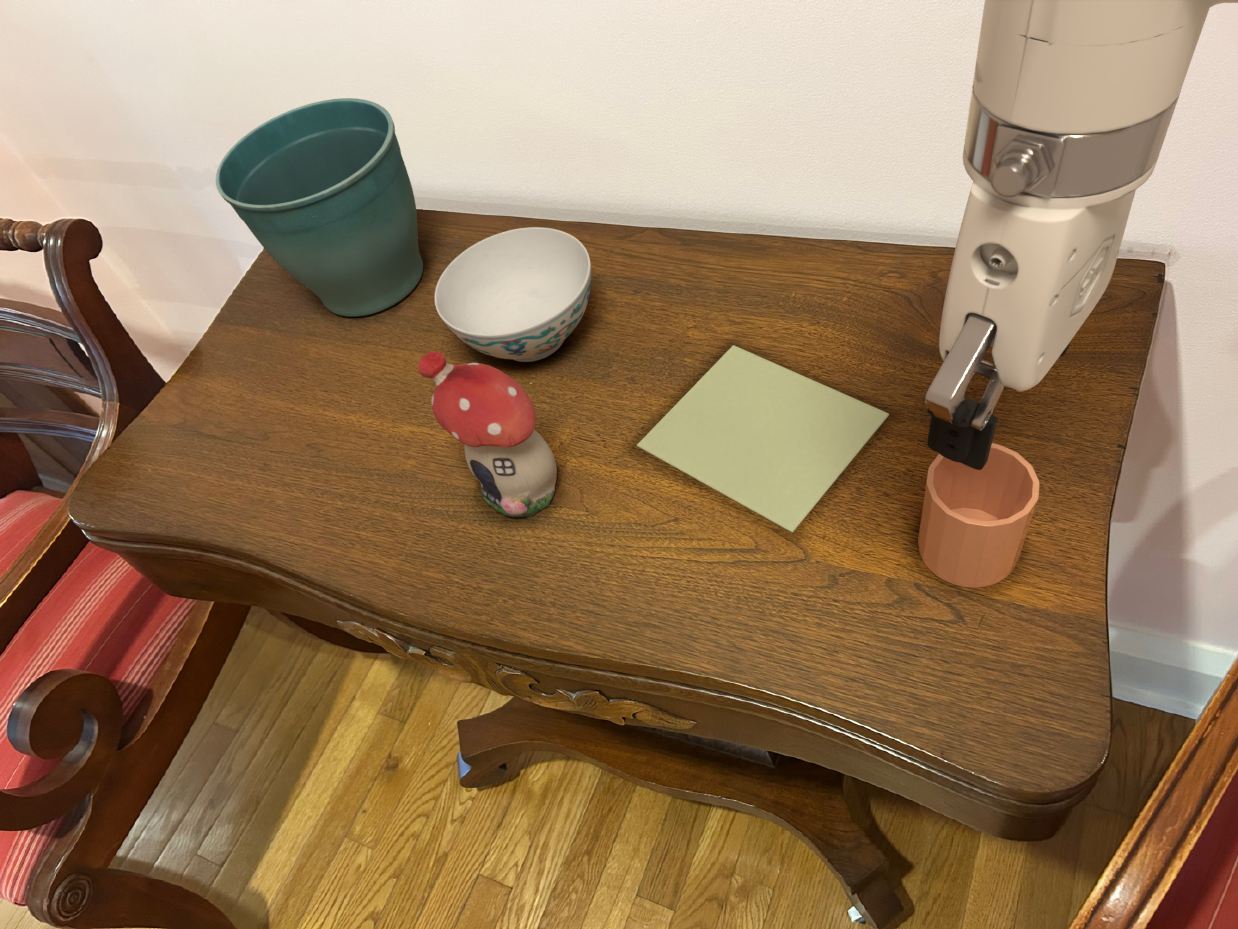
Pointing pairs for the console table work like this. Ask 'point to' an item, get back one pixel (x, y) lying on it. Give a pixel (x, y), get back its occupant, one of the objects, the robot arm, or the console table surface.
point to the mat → (763, 436)
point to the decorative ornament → (494, 433)
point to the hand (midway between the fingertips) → (998, 399)
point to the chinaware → (516, 292)
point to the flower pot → (330, 202)
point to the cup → (977, 517)
